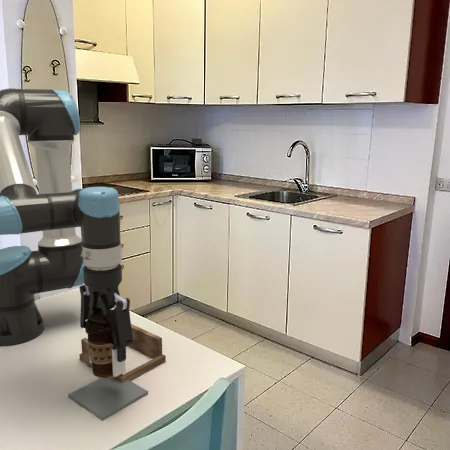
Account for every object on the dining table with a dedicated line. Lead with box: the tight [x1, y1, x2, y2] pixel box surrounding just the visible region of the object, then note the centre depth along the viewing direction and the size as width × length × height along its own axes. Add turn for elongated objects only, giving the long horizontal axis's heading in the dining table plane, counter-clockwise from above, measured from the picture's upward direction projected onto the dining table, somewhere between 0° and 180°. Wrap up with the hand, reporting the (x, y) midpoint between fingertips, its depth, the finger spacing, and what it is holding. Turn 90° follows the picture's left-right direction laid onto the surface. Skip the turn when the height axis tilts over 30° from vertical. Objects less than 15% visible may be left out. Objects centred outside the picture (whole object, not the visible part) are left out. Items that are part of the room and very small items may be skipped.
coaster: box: [67, 377, 149, 422], centre depth 101 cm, size 12×12×1 cm
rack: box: [78, 323, 167, 383], centre depth 114 cm, size 16×13×6 cm
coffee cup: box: [85, 308, 114, 379], centre depth 98 cm, size 9×8×13 cm
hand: (107, 366), depth 100 cm, fingers closed on coffee cup, 7 cm apart
